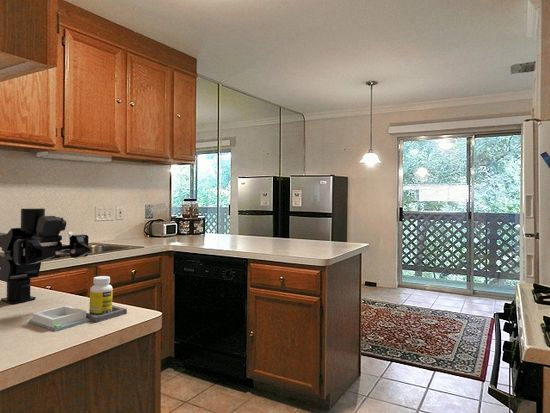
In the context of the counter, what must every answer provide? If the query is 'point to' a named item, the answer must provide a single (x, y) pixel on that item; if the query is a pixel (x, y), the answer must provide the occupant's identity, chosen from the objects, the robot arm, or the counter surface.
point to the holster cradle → (107, 314)
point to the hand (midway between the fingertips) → (73, 251)
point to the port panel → (59, 317)
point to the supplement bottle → (101, 296)
